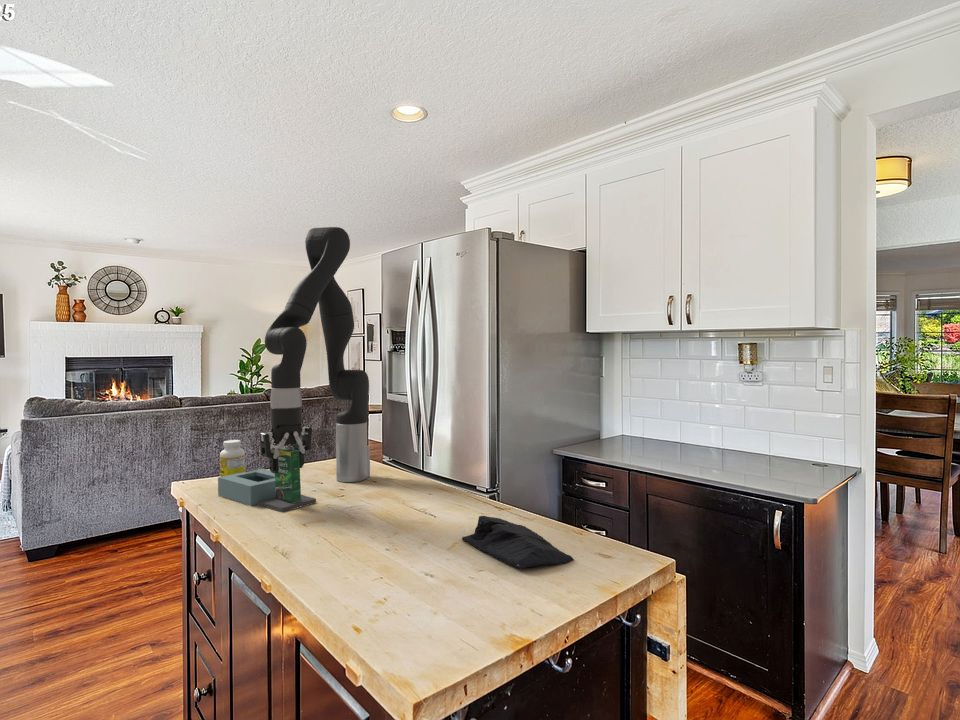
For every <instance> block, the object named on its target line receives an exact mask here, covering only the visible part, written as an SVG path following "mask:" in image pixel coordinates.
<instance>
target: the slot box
mask: <svg viewBox="0 0 960 720" xmlns="http://www.w3.org/2000/svg"><path fill="white" fill-rule="evenodd" d="M217 490H218V491H217V496H218V497H221V498H224V499H228V500H230V501H232V502H236V503H239V504H240V503H241V504H244V505H246V504H247V506H249V505H250V507H252V506H256V505H259V504H258V501H262V500H266V499H269V498H273V497H276V489H275V474H274V473H272V472H271V471H270V469H266V468H258V469H254V470H249V471H245V472H242V473H237V474H232V475H227V476H222V477H220V476H218V477H217Z"/></svg>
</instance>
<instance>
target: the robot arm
mask: <svg viewBox="0 0 960 720" xmlns="http://www.w3.org/2000/svg"><path fill="white" fill-rule="evenodd" d="M304 243H305V251H306V256H307V259H308V262H309V266H310V270H311V271H310V272H309V273H307V274H306V275H305V276H304V277H303V278H302V279H301V280H300V281H299V282H298V283H297V285H296V286H295V287H294V288H293V290H292V292H291V294H290V296H289V298H288V300H287V302H286V304H285V306H284V309H283V310H282V311H281V313H280V314H279V315H278V316H277V317H276V318H275V319H274V320H273V322H272V324H271V325H270V326H269V327H268V329H267V330H266V333H265V337H264V346H265V349H266V350H267V351H268V352H269V353H270V354H272V355H277V356H279V355H282V358H281V361H280V363H279V364H276V365H273V367H272V368H271V372H270V373H271V375H270V379H271V381H270V382H271V383H270V384H271V385H270V386H271V387H270V388H271V389H270V402H269V403H270V425H271V429H270V431H268V432H260V433H259V434H258V435H259V436H258V437H259V444H260V445H259V446H260V455H261V457H265V458H268V460H269V461H268V464H269V467H268V468H269V469H268V470H270V471H271V472H272V473H274V474H276V473H278V458H277V457H278V455H279V452H280V451H281V450H282V448H284V447H285V446H289V445H291V446H292V447H293V449H295V450H299V459H300V469H303V467H304V465H305V453H306V452H307V451H309V450H311V449H312V436H313V428H312V427H310V426H302V422H303V401H302V400H303V399H302V398H303V396H302V390H301V386H302V385H301V371H302V366H303V364H304V358H305V355H306V351H307V346H308V345H307V344H308V343H307V342H308V341H307V337H306V335H305V332H304V331H303V330H302V329H301V327H304V326H306V325H309V323H310V321H311V319H312V317H313V315H314V312H315V310H316V308H317V306H318V309H319V315H320V322H321V323H320V324H321V328H322V332H323V333H322V334H323V339H324V344H325V345H324V346H325V351H326V360H327V373H328V374H327V375H328V384H329V385H328V386H329V390H330V394H331V396H332V398H334V400H339V401H351V404H350V407H349V408H347V409H346V410H343V411H340V412H337V413H336V415H335V448H336V450H335V457H336V459H335V462H336V464H335V465H336V470H335V471H336V478H335V479H336V481H337V482H341V483H342V482H343V483H355V482H356V483H357V482H362V481H365V480H367V479H368V478H371V450H370V449H371V448H370V445H368V413H369V399H370V398H369V395H370V378H369V375H368V373H367V371H366V370H362V369H346V368H345V364H344V356H345V355H344V354H345V351H346V349H347V347H348V344H349V342H350V340H351V337H353V333H354V330H355V320H354V314H353V312H354V311H353V307H352V303H351V302H350V299H349V298H348V296H347V295H346V293H345V292H344V290H343V289H342V288H341V286H340V285H339V283H338V282H337V280H336V278H335V275H336V273H337V271H339V268H340V267H341V266H342V264H343V263H344V261H345V260H346V258H347V256H348V254H349V253H350V252H349V251H350V247H351V239H350V236H349V234H348V232H347V231H346V230H345V229H344V228H341V227H340V226H339V227H338V226H328V227H327V226H325V227H314V228H310V229H309V230H308V231H307V232H306V235H305V241H304ZM301 435H302V436H301ZM300 436H301V438H300ZM272 439H273V440H272ZM271 440H272V442H271Z"/></svg>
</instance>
